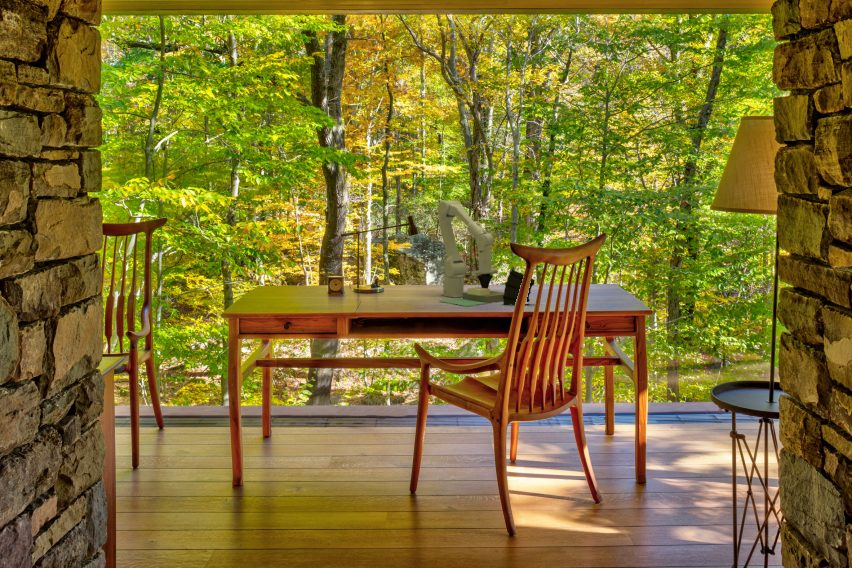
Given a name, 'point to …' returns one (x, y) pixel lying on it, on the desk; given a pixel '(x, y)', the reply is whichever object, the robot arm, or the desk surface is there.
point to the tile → (478, 291)
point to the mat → (463, 302)
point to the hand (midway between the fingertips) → (484, 291)
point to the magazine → (514, 287)
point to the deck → (485, 297)
